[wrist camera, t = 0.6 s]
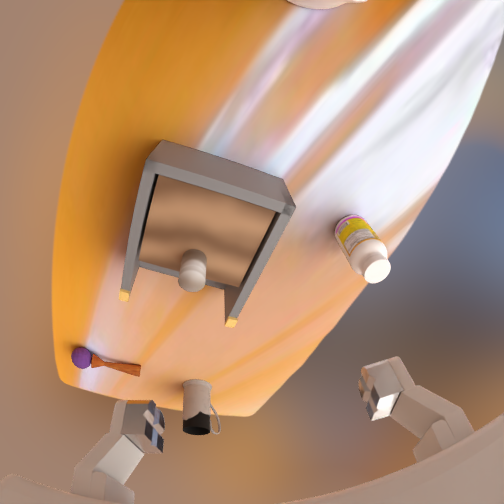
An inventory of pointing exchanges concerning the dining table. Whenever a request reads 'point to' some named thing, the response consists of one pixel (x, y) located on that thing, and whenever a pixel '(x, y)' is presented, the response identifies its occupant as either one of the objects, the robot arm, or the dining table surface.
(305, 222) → the dining table surface
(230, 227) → the wooden block with knob
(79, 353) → the purple maraca
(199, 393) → the glass holder
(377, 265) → the supplement bottle
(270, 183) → the bay
